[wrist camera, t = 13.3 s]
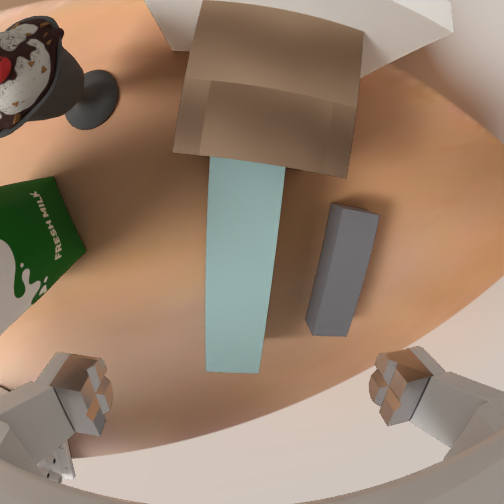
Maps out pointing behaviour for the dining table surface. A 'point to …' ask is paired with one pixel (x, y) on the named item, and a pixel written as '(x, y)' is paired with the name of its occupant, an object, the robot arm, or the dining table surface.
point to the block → (270, 88)
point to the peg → (239, 260)
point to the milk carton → (33, 244)
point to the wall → (337, 10)
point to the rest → (341, 269)
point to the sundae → (48, 79)
